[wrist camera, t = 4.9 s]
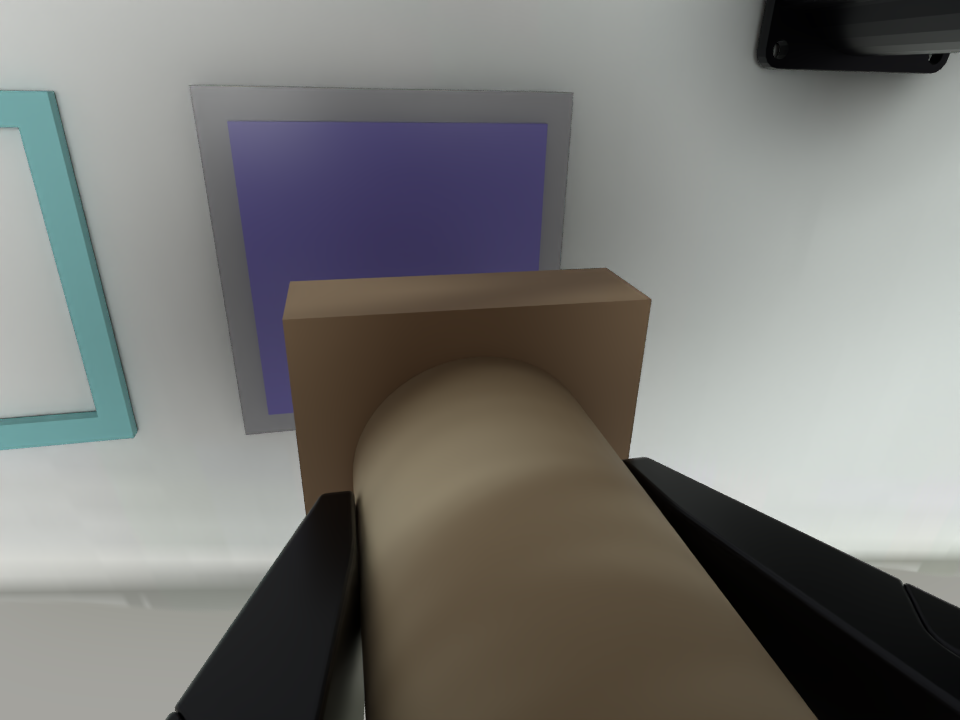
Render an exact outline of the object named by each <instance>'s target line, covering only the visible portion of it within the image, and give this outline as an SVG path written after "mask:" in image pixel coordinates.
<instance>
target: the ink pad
mask: <svg viewBox="0 0 960 720" xmlns="http://www.w3.org/2000/svg"><path fill="white" fill-rule="evenodd" d="M189 86H190V92H191V99H192V105H193V111H194V117H195V123H196V129H197V136H198V142H199V148H200V154H201V160H202V167H203V173H204V179H205V185H206V191H207V198H208V204H209V210H210V216H211V222H212V229H213V235H214V241H215V247H216V253H217V259H218V266H219V272H220V278H221V284H222V290H223V297H224V303H225V309H226V315H227V321H228V328H229V334H230V340H231V346H232V352H233V358H234V365H235V371H236V377H237V383H238V389H239V396H240V402H241V408H242V414H243V420H244V427H245V433H246V435H250V434H260V433H271V432H282V431H293V430H296V428H295V420H294V412H293V404H292V395H291V387H290V379H289V371H288V362H287V354H286V346H285V338H284V330H283V321H282V319H283V314H284V309H285V304H286V299H287V294H288V289H289V284H290V281H312V280H335V279H358V278H381V277H405V276H428V275H451V274H474V273H497V272H520V271H544V270H560V262H561V249H562V236H563V223H564V210H565V197H566V184H567V171H568V158H569V145H570V132H571V119H572V106H573V93H571V92H527V91H475V90H423V89H371V88H320V87H268V86H216V85H189Z"/></svg>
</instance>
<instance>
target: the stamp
mask: <svg viewBox="0 0 960 720" xmlns="http://www.w3.org/2000/svg"><path fill="white" fill-rule="evenodd" d="M650 306H651V299H650V298H649V297H648V296H646V295H645V294H643V293H642V292H640V291H639V290H637V289H636V288H635V287H633V286H632V285H630V284H629V283H627V282H626V281H625V280H623V279H622V278H620V277H619V276H617V275H616V274H615V273H613V272H612V271H610V270H609V269H607V268H590V269H567V270H544V271H520V272H497V273H474V274H451V275H428V276H405V277H381V278H358V279H335V280H312V281H290V284H289V289H288V294H287V299H286V304H285V309H284V314H283V319H282V321H283V330H284V338H285V346H286V354H287V362H288V371H289V379H290V387H291V395H292V404H293V412H294V420H295V428H296V436H297V445H298V453H299V461H300V469H301V478H302V486H303V494H304V502H305V510H306V515H307V514H308V512H309V511H310V509H311V508H312V507H313V505H314V504H315V502H316V501H317V499H318V498H319V497H320V496H321V495H322V494H324V493H331V492H340V491H352V492H353V493H354V496H355V507H356V524H357V542H358V560H359V577H360V622H361V641H362V659H363V678H364V696H365V714H366V720H818V719H817V717H816V716H815V715H814V714H813V712H812V711H811V710H810V708H809V707H808V706H807V704H806V703H805V702H804V700H803V699H802V698H801V696H800V695H799V694H798V692H797V691H796V690H795V688H794V687H793V686H792V684H791V683H790V682H789V680H788V679H787V678H786V677H785V675H784V674H783V673H782V671H781V670H780V669H779V667H778V666H777V665H776V663H775V662H774V661H773V659H772V658H771V657H770V655H769V654H768V653H767V651H766V650H765V649H764V647H763V646H762V645H761V643H760V642H759V641H758V640H757V638H756V637H755V636H754V634H753V633H752V632H751V630H750V629H749V628H748V626H747V625H746V624H745V622H744V621H743V620H742V618H741V617H740V616H739V614H738V613H737V612H736V610H735V609H734V608H733V606H732V605H731V604H730V603H729V601H728V600H727V599H726V597H725V596H724V595H723V593H722V592H721V591H720V589H719V588H718V587H717V585H716V584H715V583H714V581H713V580H712V579H711V577H710V576H709V575H708V573H707V572H706V571H705V569H704V568H703V567H702V566H701V564H700V563H699V562H698V560H697V559H696V558H695V556H694V555H693V554H692V552H691V551H690V550H689V548H688V547H687V546H686V544H685V543H684V542H683V540H682V539H681V538H680V536H679V535H678V534H677V532H676V531H675V530H674V529H673V527H672V526H671V525H670V523H669V522H668V521H667V519H666V518H665V517H664V515H663V514H662V513H661V511H660V510H659V509H658V507H657V506H656V505H655V503H654V502H653V501H652V499H651V498H650V497H649V495H648V494H647V493H646V492H645V490H644V489H643V488H642V486H641V485H640V484H639V482H638V481H637V480H636V478H635V477H634V476H633V474H632V473H631V472H630V470H629V469H628V468H627V466H626V465H625V464H624V462H623V461H622V460H623V459H628V457H629V450H630V444H631V437H632V430H633V423H634V416H635V409H636V402H637V396H638V389H639V382H640V375H641V368H642V361H643V354H644V348H645V341H646V334H647V327H648V320H649V313H650Z"/></svg>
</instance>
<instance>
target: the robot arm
mask: <svg viewBox="0 0 960 720" xmlns="http://www.w3.org/2000/svg"><path fill="white" fill-rule="evenodd" d="M777 42H778V43H779V45H780V51H779V54H778V56H777V57H776V58H775V57H774V55H773V49H774V46H775V44H776V43H777ZM959 52H960V0H766V6H765V11H764V16H763V22H762V27H761V33H760V38H759V43H758V49H757V58H758V61H759V64H760V65H761V66H762V67H764V68H767V69H787V70H820V71H854V72H887V73H935V72H937V71H939V70H940V69H941V68H942V67H943V66H944V65H945V63H946V62H947V59H948V57H949V55H950V53H959ZM929 54H932V56H931V58H930V60H929ZM622 461H623V462H624V464H625V465H626V466H627V468H628V469H629V470H630V472H631V473H632V474H633V476H634V477H635V478H636V480H637V481H638V482H639V484H640V485H641V486H642V488H643V489H644V490H645V492H646V493H647V494H648V495H649V497H650V498H651V499H652V501H653V502H654V503H655V505H656V506H657V507H658V509H659V510H660V511H661V513H662V514H663V515H664V517H665V518H666V519H667V521H668V522H669V523H670V525H671V526H672V527H673V529H674V530H675V531H676V532H677V534H678V535H679V536H680V538H681V539H682V540H683V542H684V543H685V544H686V546H687V547H688V548H689V550H690V551H691V552H692V554H693V555H694V556H695V558H696V559H697V560H698V562H699V563H700V564H701V566H702V567H703V568H704V569H705V571H706V572H707V573H708V575H709V576H710V577H711V579H712V580H713V581H714V583H715V584H716V585H717V587H718V588H719V589H720V591H721V592H722V593H723V595H724V596H725V597H726V599H727V600H728V601H729V603H730V604H731V605H732V606H733V608H734V609H735V610H736V612H737V613H738V614H739V616H740V617H741V618H742V620H743V621H744V622H745V624H746V625H747V626H748V628H749V629H750V630H751V632H752V633H753V634H754V636H755V637H756V638H757V640H758V641H759V642H760V643H761V645H762V646H763V647H764V649H765V650H766V651H767V653H768V654H769V655H770V657H771V658H772V659H773V661H774V662H775V663H776V665H777V666H778V667H779V669H780V670H781V671H782V673H783V674H784V675H785V677H786V678H787V679H788V680H789V682H790V683H791V684H792V686H793V687H794V688H795V690H796V691H797V692H798V694H799V695H800V696H801V698H802V699H803V700H804V702H805V703H806V704H807V706H808V707H809V708H810V710H811V711H812V712H813V714H814V715H815V716H816V717H817V719H818V720H960V608H958V607H957V606H954V605H952V604H950V603H948V602H946V601H944V600H942V599H939V598H937V597H935V596H933V595H931V594H929V593H927V592H925V591H923V590H921V589H919V588H917V587H915V586H913V585H911V584H907V583H906V584H903V583H902V581H901V580H900V579H898V578H896V577H894V576H892V575H890V574H888V573H886V572H883V571H882V570H880V569H877V568H875V567H873V566H871V565H869V564H867V563H865V562H863V561H861V560H859V559H857V558H855V557H853V556H851V555H848V554H846V553H844V552H842V551H840V550H838V549H836V548H834V547H832V546H830V545H828V544H826V543H824V542H822V541H819V540H817V539H815V538H813V537H811V536H809V535H807V534H805V533H803V532H801V531H799V530H797V529H795V528H793V527H791V526H788V525H786V524H784V523H782V522H780V521H778V520H776V519H774V518H772V517H770V516H768V515H766V514H764V513H762V512H759V511H757V510H755V509H753V508H751V507H749V506H747V505H745V504H743V503H741V502H739V501H737V500H735V499H733V498H731V497H728V496H726V495H724V494H722V493H720V492H718V491H716V490H714V489H712V488H710V487H708V486H706V485H704V484H702V483H699V482H697V481H695V480H693V479H691V478H689V477H687V476H685V475H683V474H681V473H679V472H677V471H675V470H673V469H671V468H668V467H666V466H664V465H662V464H660V463H658V462H656V461H654V460H652V459H650V458H647V457H641V458H632V459H623V460H622ZM364 704H365V696H364V678H363V659H362V641H361V622H360V577H359V560H358V542H357V524H356V507H355V496H354V493H353V492H352V491H340V492H331V493H324V494H322V495H321V496H320V497H319V498H318V499H317V501H316V502H315V504H314V505H313V507H312V508H311V509H310V511H309V512H308V514H307V515H306V517H305V518H304V520H303V521H302V523H301V524H300V525H299V527H298V528H297V530H296V531H295V533H294V534H293V536H292V537H291V539H290V540H289V541H288V543H287V544H286V546H285V547H284V549H283V550H282V552H281V553H280V555H279V556H278V558H277V559H276V560H275V562H274V563H273V565H272V566H271V568H270V569H269V571H268V572H267V574H266V575H265V576H264V578H263V579H262V581H261V582H260V584H259V585H258V587H257V588H256V590H255V591H254V592H253V594H252V595H251V597H250V598H249V600H248V601H247V603H246V604H245V606H244V607H243V608H242V610H241V611H240V613H239V614H238V616H237V617H236V619H235V620H234V622H233V623H232V624H231V626H230V627H229V629H228V630H227V632H226V633H225V635H224V636H223V638H222V639H221V641H220V642H219V644H218V645H217V646H216V648H215V649H214V651H213V652H212V654H211V655H210V656H209V658H208V659H207V661H206V662H205V664H204V665H203V667H202V668H201V670H200V671H199V673H198V674H197V675H196V677H195V678H194V680H193V681H192V683H191V684H190V686H189V687H188V689H187V690H186V691H185V693H184V694H183V696H182V697H181V699H180V700H179V702H178V703H177V705H176V707H175V711H176V712H172V713H171V714H169V715H168V717H167V718H166V720H364Z"/></svg>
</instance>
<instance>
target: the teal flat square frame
mask: <svg viewBox="0 0 960 720" xmlns="http://www.w3.org/2000/svg"><path fill="white" fill-rule="evenodd" d="M0 127H19V131H20V134H21V138H22V141H23V145H24V149H25V152H26V156H27V160H28V163H29V167H30V171H31V174H32V178H33V182H34V185H35V189H36V192H37V196H38V200H39V203H40V207H41V211H42V214H43V218H44V222H45V225H46V229H47V233H48V236H49V240H50V243H51V247H52V251H53V254H54V258H55V262H56V265H57V269H58V273H59V276H60V280H61V283H62V287H63V291H64V294H65V298H66V302H67V305H68V309H69V313H70V316H71V320H72V324H73V327H74V331H75V334H76V338H77V342H78V345H79V349H80V353H81V356H82V360H83V364H84V367H85V371H86V374H87V378H88V382H89V385H90V389H91V393H92V396H93V400H94V404H95V407H96V411H94V412H82V413H70V414H57V415H45V416H33V417H21V418H9V419H0V450H7V449H17V448H28V447H39V446H50V445H61V444H72V443H83V442H94V441H105V440H116V439H127V438H134V437H135V435H136V433H137V427H136V423H135V419H134V415H133V411H132V407H131V403H130V399H129V395H128V391H127V387H126V383H125V379H124V375H123V370H122V366H121V362H120V358H119V354H118V350H117V346H116V342H115V338H114V334H113V330H112V326H111V322H110V318H109V314H108V310H107V306H106V302H105V298H104V293H103V289H102V285H101V281H100V277H99V273H98V269H97V265H96V261H95V257H94V253H93V249H92V245H91V241H90V237H89V233H88V229H87V225H86V221H85V216H84V212H83V208H82V204H81V200H80V196H79V192H78V188H77V184H76V180H75V176H74V172H73V168H72V164H71V160H70V156H69V152H68V148H67V144H66V139H65V135H64V131H63V127H62V123H61V119H60V115H59V111H58V107H57V103H56V99H55V95H54V91H2V90H0Z"/></svg>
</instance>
